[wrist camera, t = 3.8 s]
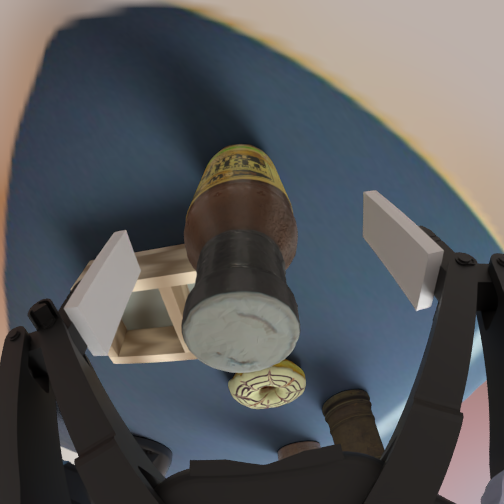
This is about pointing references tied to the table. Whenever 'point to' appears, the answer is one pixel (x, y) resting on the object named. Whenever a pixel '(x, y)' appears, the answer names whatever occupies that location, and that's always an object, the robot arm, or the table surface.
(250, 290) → the sauce bottle
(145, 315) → the caddy
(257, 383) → the decorated donut
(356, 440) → the container
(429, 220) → the table surface
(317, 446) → the vase
